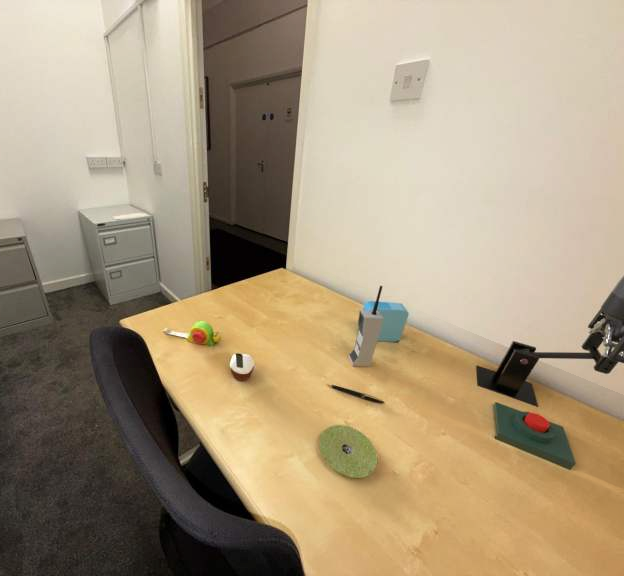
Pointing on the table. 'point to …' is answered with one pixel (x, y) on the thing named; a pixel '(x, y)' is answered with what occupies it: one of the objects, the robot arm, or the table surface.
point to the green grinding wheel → (348, 451)
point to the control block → (532, 436)
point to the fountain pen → (357, 394)
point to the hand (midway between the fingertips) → (593, 360)
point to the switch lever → (566, 354)
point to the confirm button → (536, 422)
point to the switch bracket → (511, 374)
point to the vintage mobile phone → (367, 335)
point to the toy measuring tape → (198, 334)
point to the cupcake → (241, 366)
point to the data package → (390, 319)
